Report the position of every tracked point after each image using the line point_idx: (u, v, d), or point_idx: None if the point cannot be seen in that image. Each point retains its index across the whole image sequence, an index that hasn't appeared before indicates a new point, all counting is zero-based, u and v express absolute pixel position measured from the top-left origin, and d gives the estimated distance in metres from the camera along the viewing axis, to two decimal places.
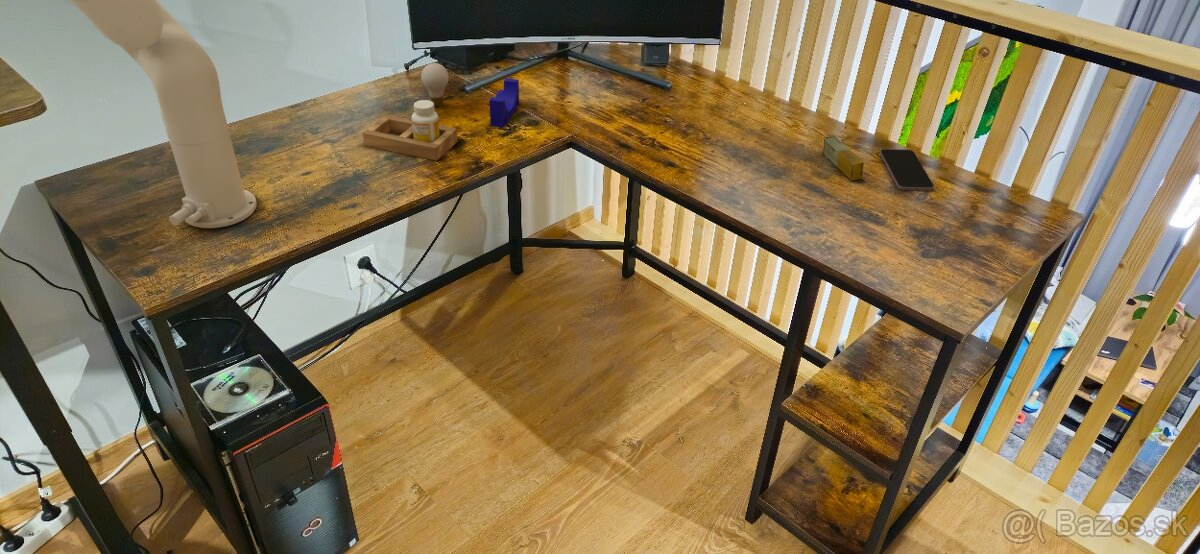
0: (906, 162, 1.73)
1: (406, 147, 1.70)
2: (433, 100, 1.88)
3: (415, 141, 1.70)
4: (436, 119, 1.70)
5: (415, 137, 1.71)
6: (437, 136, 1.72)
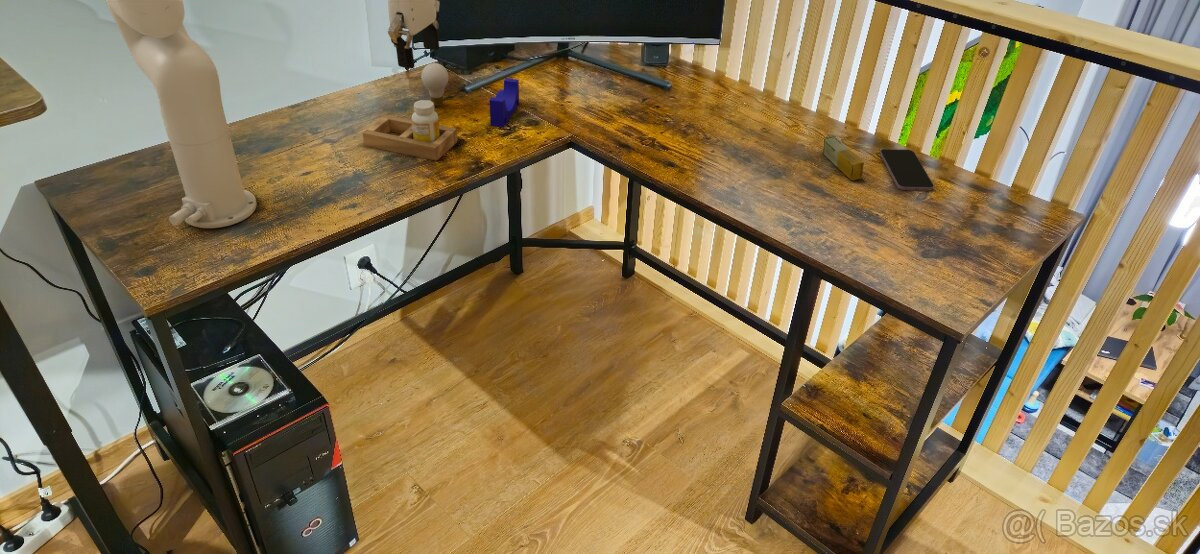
0: (906, 162, 1.73)
1: (406, 147, 1.70)
2: (433, 100, 1.88)
3: (415, 141, 1.70)
4: (436, 119, 1.70)
5: (415, 137, 1.71)
6: (437, 136, 1.72)
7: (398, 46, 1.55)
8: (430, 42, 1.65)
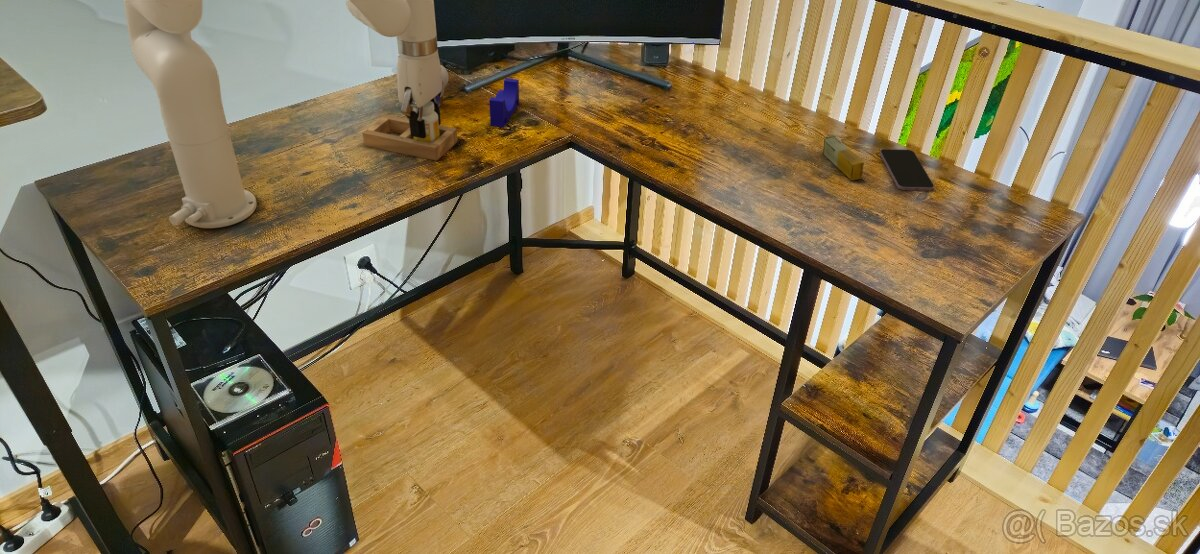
0: (906, 162, 1.73)
1: (406, 147, 1.70)
2: None
3: (415, 141, 1.70)
4: (436, 119, 1.70)
5: (415, 137, 1.71)
6: (437, 136, 1.72)
7: (411, 119, 1.66)
8: None
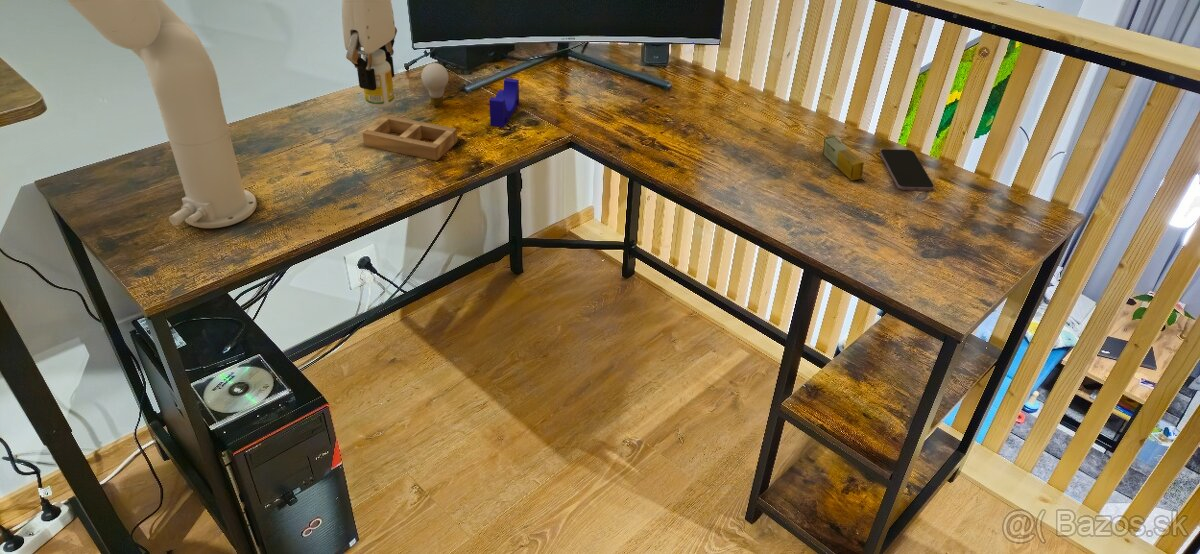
0: (906, 162, 1.73)
1: (406, 147, 1.70)
2: (433, 100, 1.88)
3: (415, 141, 1.70)
4: (388, 70, 1.52)
5: (365, 90, 1.54)
6: (390, 89, 1.55)
7: (359, 67, 1.49)
8: None
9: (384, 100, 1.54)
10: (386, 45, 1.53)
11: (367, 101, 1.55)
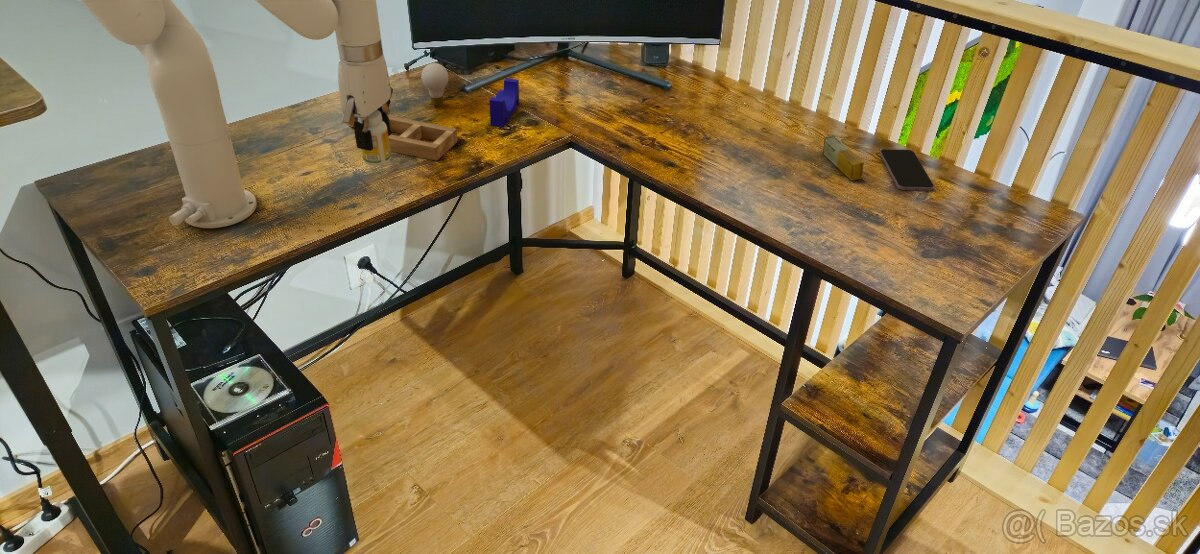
0: (906, 162, 1.73)
1: (406, 147, 1.70)
2: (433, 100, 1.88)
3: (415, 141, 1.70)
4: (384, 130, 1.56)
5: (363, 150, 1.58)
6: (387, 148, 1.59)
7: (356, 129, 1.53)
8: None
9: (381, 159, 1.59)
10: (382, 106, 1.57)
11: (364, 160, 1.59)
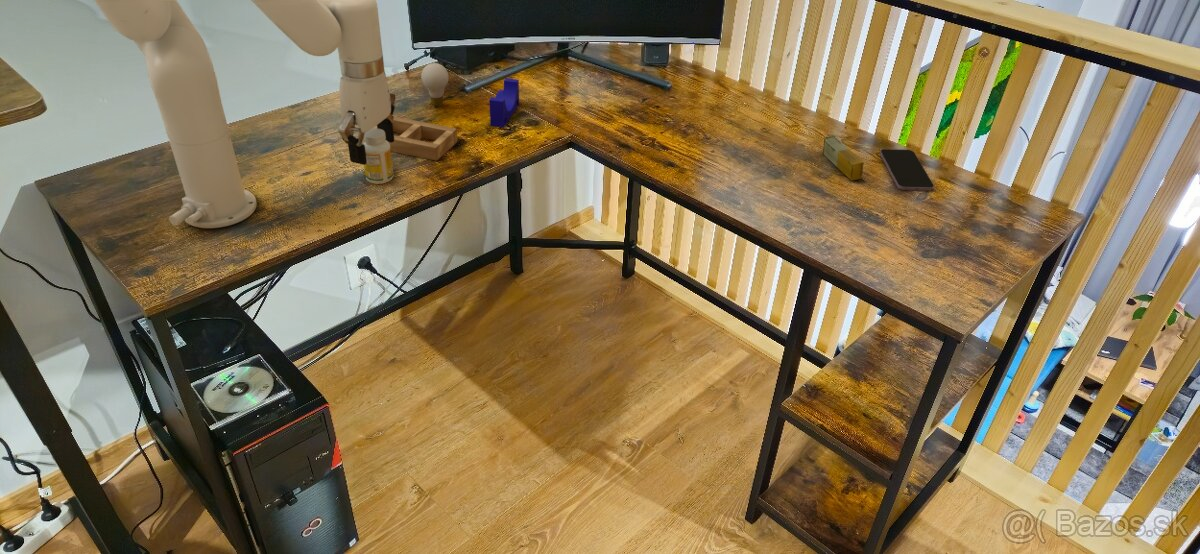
0: (906, 162, 1.73)
1: (406, 147, 1.70)
2: (433, 100, 1.88)
3: (415, 141, 1.70)
4: (388, 149, 1.59)
5: (366, 168, 1.60)
6: (389, 167, 1.61)
7: (350, 143, 1.52)
8: (385, 135, 1.62)
9: (383, 177, 1.61)
10: None
11: (367, 178, 1.61)
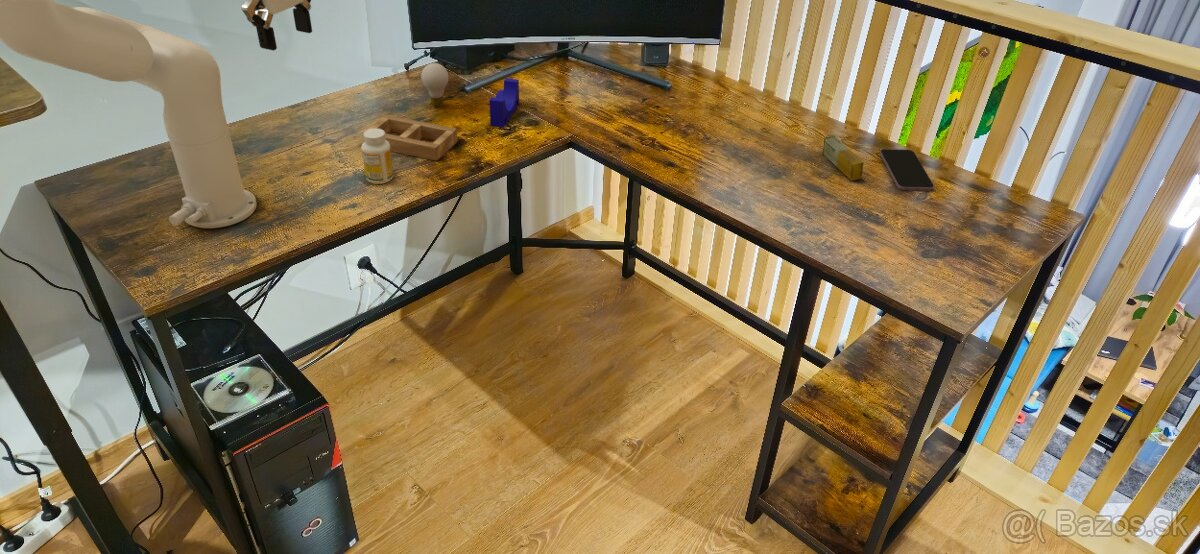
0: (906, 162, 1.73)
1: (406, 147, 1.70)
2: (433, 100, 1.88)
3: (415, 141, 1.70)
4: (388, 149, 1.59)
5: (366, 168, 1.60)
6: (389, 167, 1.61)
7: (256, 25, 1.44)
8: (302, 24, 1.54)
9: (383, 177, 1.61)
10: None
11: (367, 178, 1.61)
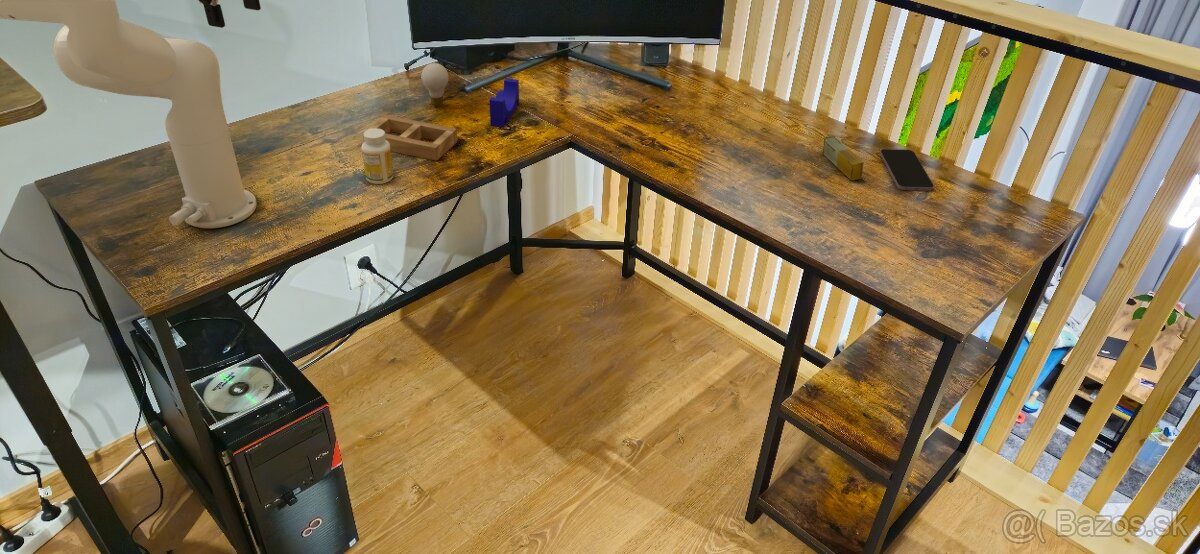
0: (906, 162, 1.73)
1: (406, 147, 1.70)
2: (433, 100, 1.88)
3: (415, 141, 1.70)
4: (388, 149, 1.59)
5: (366, 168, 1.60)
6: (389, 167, 1.61)
7: (203, 2, 1.45)
8: (250, 2, 1.55)
9: (383, 177, 1.61)
10: None
11: (367, 178, 1.61)
